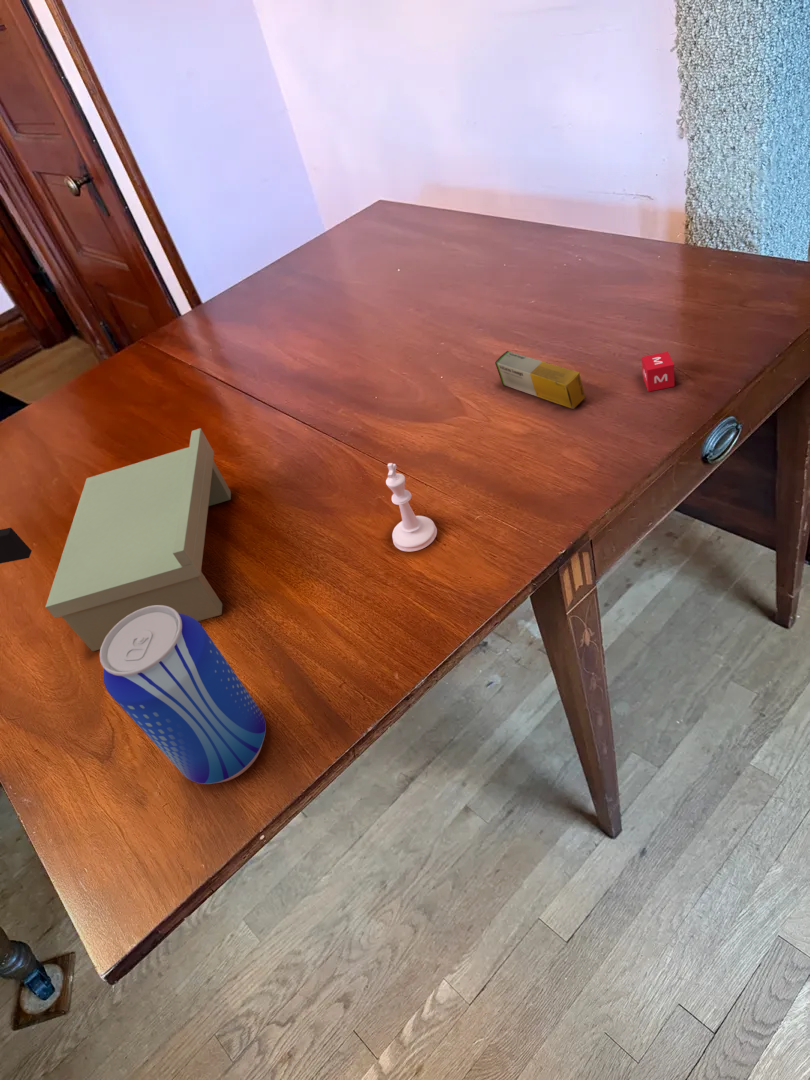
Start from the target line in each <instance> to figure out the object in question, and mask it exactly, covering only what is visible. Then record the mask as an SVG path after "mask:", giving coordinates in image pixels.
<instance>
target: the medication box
mask: <svg viewBox="0 0 810 1080" xmlns="http://www.w3.org/2000/svg"><path fill="white" fill-rule="evenodd" d="M494 364H495V367H496V369H497V373H498V376H499V379H500V382H501V384H502V386H503V387H504V386H506V387H508V388H510V389H511V388H512V389H514V390H517V391H519V392H523V393H524V394H525V393H526V394H529V395H532V396H534V397H537V398H540V399H543V400H546V401H548V402H552V403H554V404H557V405H560V406H563V407H566V408H569V409H572V410H575V408H577V406H578V405H580V404H581V402H582V401H583V400H585V398H586V394H585V389H584V385H583V381H582V377H581V373H580V371H576V370H573V369H571V368H566V367H562V366H559V365H557V364H552V363H550V362H546V361H542V360H539V359H537V358H532V357H529V356H526V355H522V354H520V353H516V352H512V351H509V350H506V351H505V352H504V353H503V354H501V355H500V356H499V357H498V358H497V359H496V360H495V362H494Z"/></svg>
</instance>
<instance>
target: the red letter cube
mask: <svg viewBox="0 0 810 1080" xmlns="http://www.w3.org/2000/svg"><path fill="white" fill-rule="evenodd" d="M641 367H642V379H643V383H644V384H645V387H646V389H647V392H654V391H660V390H663V389H668V388H673V387H674V388H675V363H674V361H673V359H672V357H671V355H670V353H669V351H663V352H659V353H655V354H649V355H644V356H641Z"/></svg>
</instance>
